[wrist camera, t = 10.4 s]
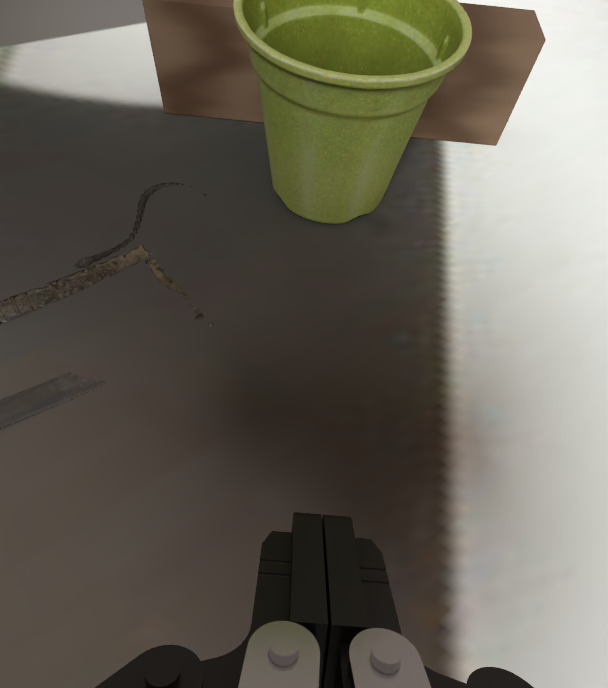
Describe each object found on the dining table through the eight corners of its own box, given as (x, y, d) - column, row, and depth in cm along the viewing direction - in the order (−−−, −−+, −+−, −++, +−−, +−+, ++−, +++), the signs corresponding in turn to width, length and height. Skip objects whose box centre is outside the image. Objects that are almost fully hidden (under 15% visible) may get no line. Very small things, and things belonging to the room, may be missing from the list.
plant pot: (420, 148, 28) (475, -24, 21) (405, 267, 23) (470, 98, 16) (267, 119, 29) (267, -59, 21) (221, 230, 24) (200, 49, 16)
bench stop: (164, 112, 28) (126, -81, 21) (175, 84, 30) (142, -106, 22) (496, 145, 29) (579, -33, 21) (489, 115, 30) (564, -60, 23)
